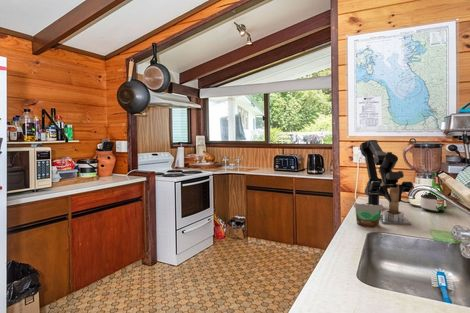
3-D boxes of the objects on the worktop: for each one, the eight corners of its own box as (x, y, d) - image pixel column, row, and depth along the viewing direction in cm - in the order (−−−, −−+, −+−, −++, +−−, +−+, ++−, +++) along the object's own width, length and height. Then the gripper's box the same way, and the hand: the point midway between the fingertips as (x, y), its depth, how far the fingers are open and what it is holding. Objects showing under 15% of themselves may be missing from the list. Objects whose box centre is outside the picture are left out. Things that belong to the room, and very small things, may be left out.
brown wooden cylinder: (389, 212, 149) (390, 186, 148) (398, 214, 147) (399, 187, 145) (388, 214, 145) (389, 188, 144) (397, 216, 143) (398, 188, 142)
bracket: (377, 216, 153) (377, 208, 153) (403, 217, 150) (404, 209, 150) (382, 223, 142) (382, 215, 142) (411, 225, 139) (411, 216, 138)
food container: (353, 226, 138) (354, 204, 137) (353, 222, 144) (353, 201, 143) (383, 229, 134) (384, 206, 133) (382, 225, 140) (382, 203, 139)
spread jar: (426, 212, 158) (427, 190, 157) (413, 207, 170) (414, 186, 169) (449, 212, 159) (450, 190, 158) (434, 206, 170) (435, 186, 169)
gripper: (371, 165, 149) (379, 192, 139) (412, 165, 147) (422, 192, 137) (366, 178, 157) (372, 204, 147) (404, 178, 155) (413, 205, 145)
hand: (395, 201), depth 144 cm, fingers closed on brown wooden cylinder, 4 cm apart
